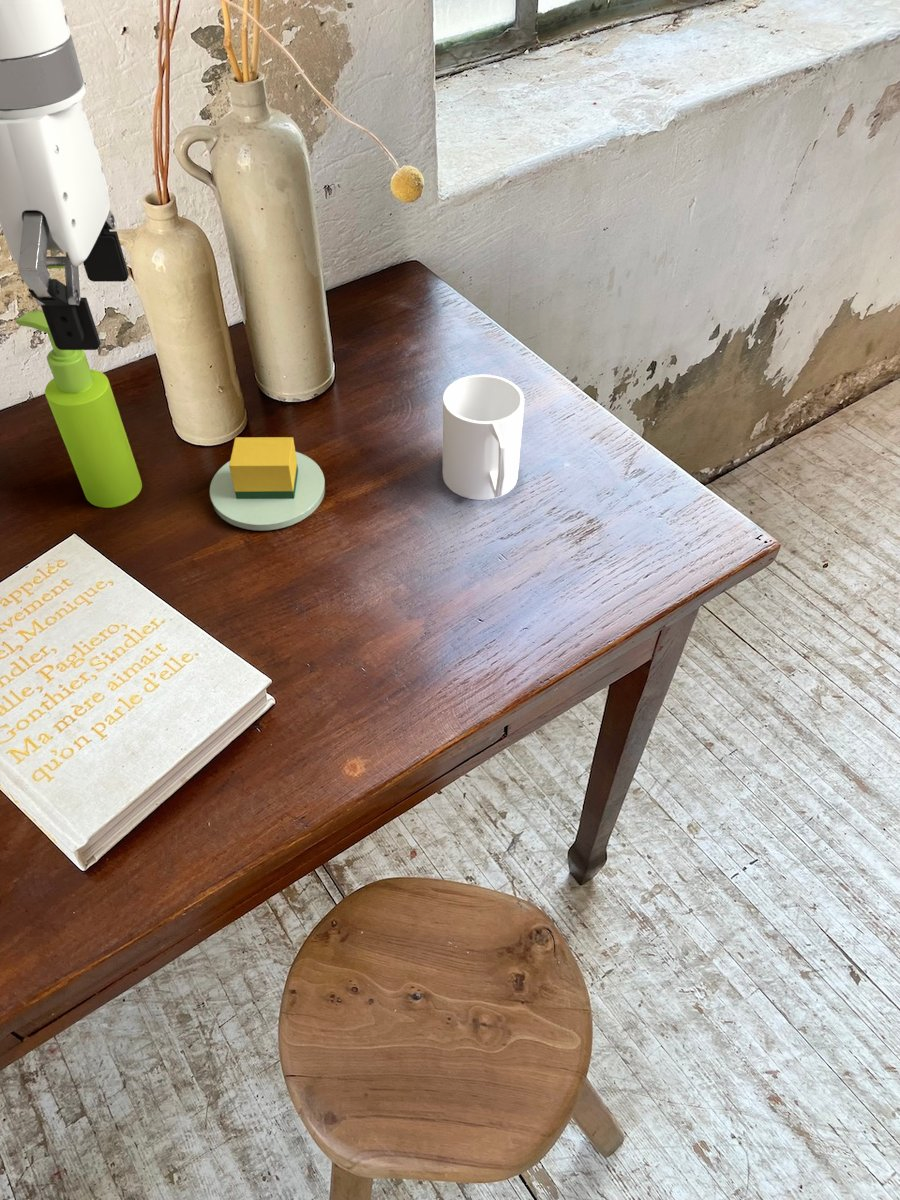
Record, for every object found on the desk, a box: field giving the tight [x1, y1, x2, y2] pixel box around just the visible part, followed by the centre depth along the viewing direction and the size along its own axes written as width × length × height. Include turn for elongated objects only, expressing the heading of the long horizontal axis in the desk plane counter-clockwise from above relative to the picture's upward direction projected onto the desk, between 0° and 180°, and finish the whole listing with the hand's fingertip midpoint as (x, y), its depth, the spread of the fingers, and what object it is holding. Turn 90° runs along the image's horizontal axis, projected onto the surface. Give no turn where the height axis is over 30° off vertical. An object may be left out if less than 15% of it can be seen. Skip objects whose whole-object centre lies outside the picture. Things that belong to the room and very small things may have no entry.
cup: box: [442, 373, 525, 501], centre depth 93 cm, size 8×12×10 cm
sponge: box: [229, 436, 298, 499], centre depth 93 cm, size 6×4×4 cm
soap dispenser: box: [14, 310, 143, 509], centre depth 89 cm, size 6×7×20 cm
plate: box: [209, 451, 326, 532], centre depth 95 cm, size 12×12×1 cm
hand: (95, 312), depth 71 cm, fingers open, 9 cm apart
